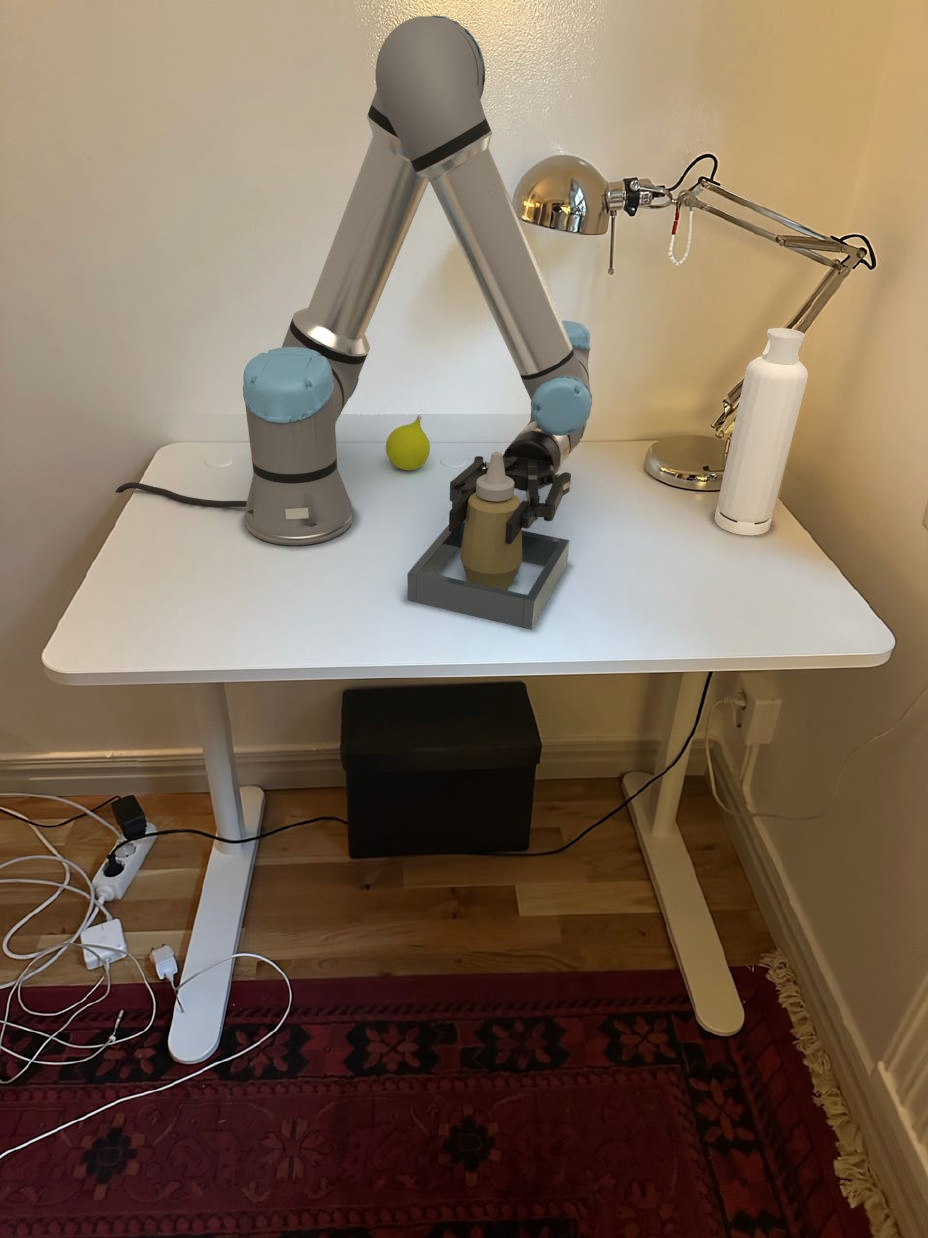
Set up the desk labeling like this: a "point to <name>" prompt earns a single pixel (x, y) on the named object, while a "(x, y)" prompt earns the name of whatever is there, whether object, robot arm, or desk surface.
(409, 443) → the yellow teardrop-shaped fruit
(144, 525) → the desk surface
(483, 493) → the squeeze bottle
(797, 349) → the bottle
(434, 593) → the grey open square frame
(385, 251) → the robot arm
